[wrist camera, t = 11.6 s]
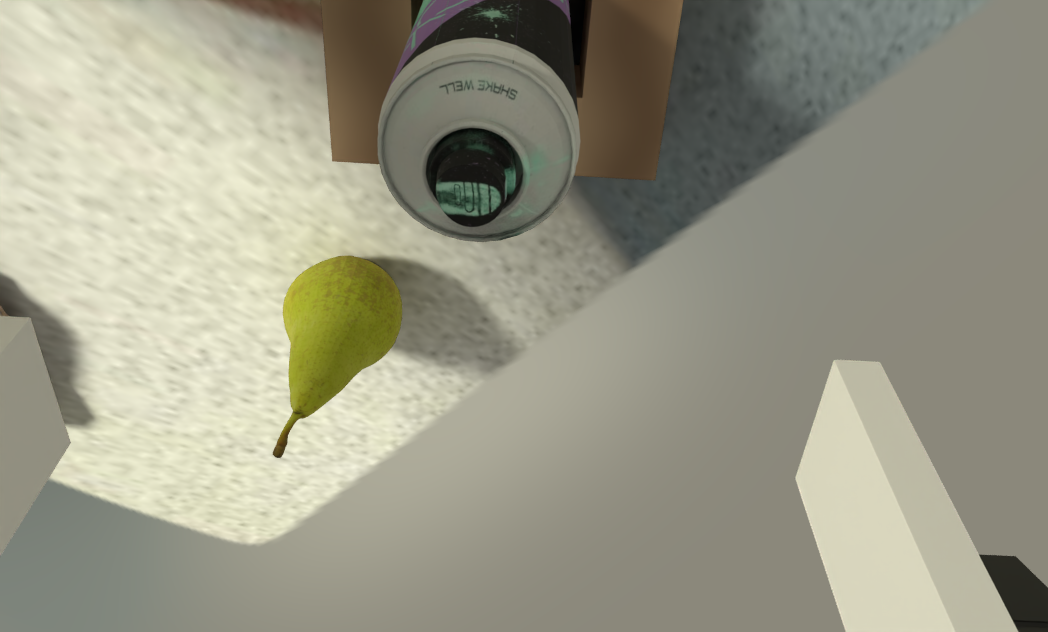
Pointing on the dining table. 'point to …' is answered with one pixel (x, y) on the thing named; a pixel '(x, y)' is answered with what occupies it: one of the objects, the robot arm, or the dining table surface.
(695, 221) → the dining table surface
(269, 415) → the dining table surface
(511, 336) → the dining table surface
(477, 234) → the spray can
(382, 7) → the hole block
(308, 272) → the fruit
